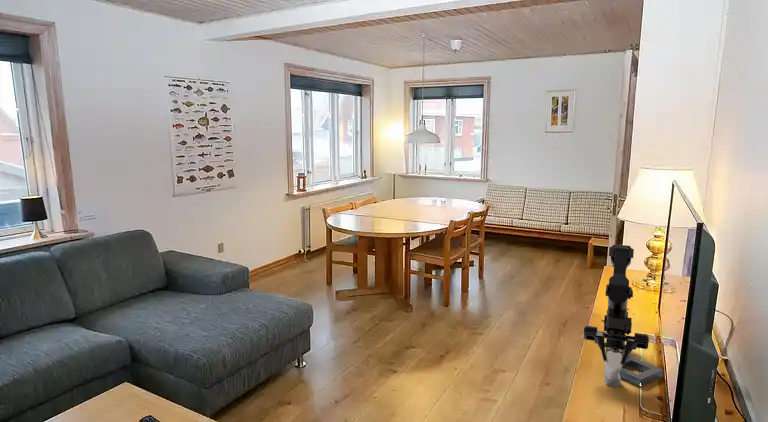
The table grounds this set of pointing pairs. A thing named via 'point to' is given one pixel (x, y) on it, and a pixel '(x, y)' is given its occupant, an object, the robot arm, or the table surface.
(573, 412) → the table surface
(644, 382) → the jig
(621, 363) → the ring
